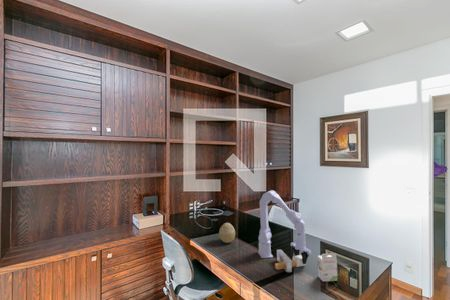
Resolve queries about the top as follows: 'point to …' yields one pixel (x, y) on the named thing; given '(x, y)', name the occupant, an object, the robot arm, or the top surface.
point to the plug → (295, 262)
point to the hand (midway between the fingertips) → (300, 261)
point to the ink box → (327, 267)
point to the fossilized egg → (227, 233)
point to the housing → (284, 260)
